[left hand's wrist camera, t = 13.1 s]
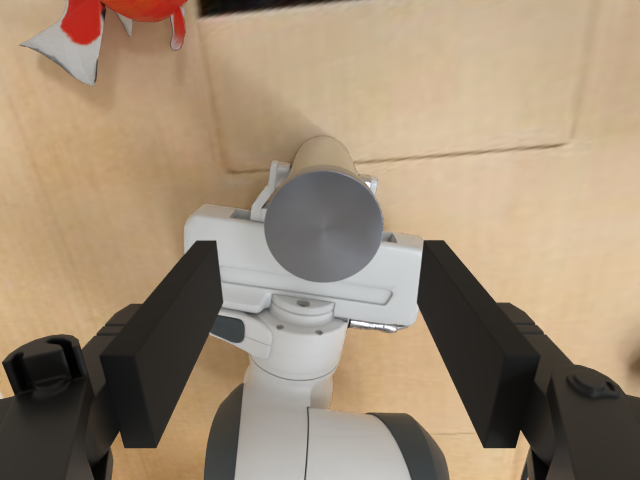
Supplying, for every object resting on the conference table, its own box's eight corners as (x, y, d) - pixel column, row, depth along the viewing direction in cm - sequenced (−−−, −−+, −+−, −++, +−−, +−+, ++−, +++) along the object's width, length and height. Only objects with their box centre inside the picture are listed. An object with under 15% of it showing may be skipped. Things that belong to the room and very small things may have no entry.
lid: (268, 267, 21) (264, 280, 19) (267, 161, 19) (263, 167, 17) (373, 271, 21) (377, 285, 19) (385, 167, 19) (390, 173, 17)
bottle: (294, 191, 36) (271, 271, 20) (295, 134, 33) (271, 172, 18) (348, 193, 36) (370, 275, 20) (353, 137, 34) (381, 177, 18)
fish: (227, 106, 28) (103, 41, 19) (94, 107, 34) (-46, 60, 25) (243, -39, 27) (123, -178, 18) (105, -10, 34) (-35, -102, 25)
